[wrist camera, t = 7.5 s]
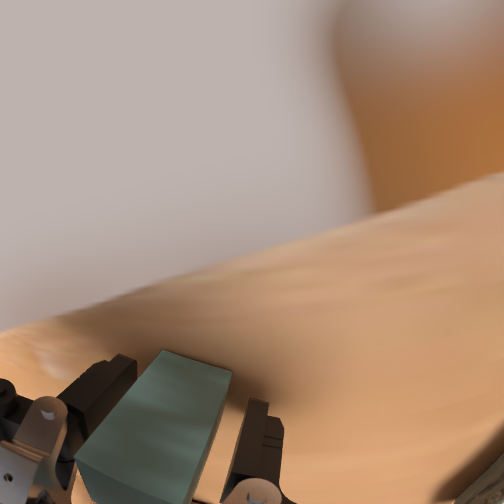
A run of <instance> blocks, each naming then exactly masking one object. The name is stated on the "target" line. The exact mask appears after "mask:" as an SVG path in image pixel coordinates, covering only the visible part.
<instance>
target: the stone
mask: <svg viewBox="0 0 504 504" xmlns="http://www.w3.org/2000/svg"><path fill="white" fill-rule="evenodd" d="M503 502H504V452H503V453H502V455H501V456H500V457H499V458H498V459H497V460H496V461H495V462H494V463H493V464H492V465H491V466H490V467H489V468H488V469H487V470H486V471H485V472H484V473H483V474H482V475H481V476H480V477H479V478H478V479H476V480H475V481H474V482H473V483H472V484H471V485H470V486H469V487H468V488H467V489H466V490H465V491H464V492H462V493H461V494H460V495H459V496H458V497H457V498H456V500H455V502H454V504H502V503H503Z"/></svg>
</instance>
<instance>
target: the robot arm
mask: <svg viewBox="0 0 504 504" xmlns="http://www.w3.org/2000/svg"><path fill="white" fill-rule="evenodd" d="M136 381H137V361H136V360H134V359H132V358H129V357H127V356H124V355H122V354H117V355H116V356H115V357H114V358H113V359H112V360H111V361H110V362H108V361H106V360H103V361H100V362H98V363H95V364H93V365H92V366H91V367H90V368H88V369H87V370H86V372H84V373H83V374H82V375H81V376H80V377H79V378H77V379H76V380H75V381H74V382H73V383H72V384H71V385H69V386H68V387H67V388H66V389H65V390H64V391H63V392H62V393H60V394H59V395H58V396H57V397H56V398H55V397H51V396H44V397H40V398H38V399H36V400H35V401H34V400H31V399H28V398H25V397H23V396H20V395H17V393H16V390H15V387H14V385H13V384H12V383H11V382H10V381H8V380H6V379H1V378H0V504H72V503H71V493H72V489H73V485H74V481H75V477H76V473H77V469H78V467H77V465H76V462H75V459H74V457H73V456H74V455H75V454H76V453H77V452H78V450H79V449H80V448H81V447H82V446H83V444H84V443H85V442H86V441H87V439H88V438H89V437H90V436H91V435H92V433H93V432H94V431H95V430H96V429H97V427H98V426H99V425H100V424H101V423H102V421H103V420H104V419H105V418H106V417H107V415H108V414H109V413H110V412H111V411H112V409H113V408H114V407H115V406H116V405H117V403H118V402H119V401H120V400H121V399H122V397H123V396H124V395H125V394H126V393H127V391H128V390H129V389H130V388H131V387H132V385H133V384H134V383H135V382H136ZM268 407H269V402H266V401H262V400H257V399H253V398H250V399H249V402H248V405H247V408H246V412H245V415H244V418H243V421H242V424H241V428H240V431H239V435H238V438H237V442H236V446H235V449H234V453H233V457H232V460H231V464H230V467H229V471H228V475H227V478H226V482H225V485H224V489H223V492H222V496H221V499H220V502H219V503H222V504H296V503H294V502H292V501H291V500H289V499H288V498H287V497H285V495H284V494H283V493H282V491H281V489H280V486H279V478H280V469H281V459H282V448H283V438H284V427H283V425H282V422H281V420H280V418H277V417H272V416H268V415H267V413H268Z"/></svg>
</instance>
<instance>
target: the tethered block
mask: <svg viewBox="0 0 504 504" xmlns="http://www.w3.org/2000/svg"><path fill="white" fill-rule="evenodd" d="M232 373H233V372H232V371H229V370H225V369H221V368H218V367H215V366H211V365H208V364H205V363H201V362H198V361H195V360H192V359H189V358H186V357H183V356H180V355H177V354H174V353H171V352H168V351H165V350H162V351H161V352H160V353H159V354H158V356H157V357H156V358H155V359H154V360H153V362H152V363H151V364H150V365H149V366H148V367H147V369H146V370H145V371H144V372H143V373H142V375H141V376H140V377H139V378H138V379H137V381H136V382H135V383H134V384H133V385H132V387H131V388H130V389H129V390H128V391H127V393H126V394H125V395H124V396H123V397H122V399H121V400H120V401H119V402H118V403H117V405H116V406H115V407H114V408H113V409H112V411H111V412H110V413H109V414H108V415H107V417H106V418H105V419H104V420H103V421H102V423H101V424H100V425H99V426H98V427H97V429H96V430H95V431H94V432H93V433H92V435H91V436H90V437H89V438H88V439H87V441H86V442H85V443H84V444H83V446H82V447H81V448H80V449H79V450H78V452H77V453H76V454H75V455H74V456H73V457H74V459H75V462H76V465H77V467H78V470H79V472H80V474H81V477H82V479H83V482H84V484H85V486H86V488H87V490H88V493H89V495H90V497H91V499H92V500H93V501H94V502H96V503H98V504H199V503H195V502H192V498H193V496H194V493H195V490H196V488H197V485H198V482H199V480H200V477H201V474H202V471H203V469H204V466H205V463H206V460H207V458H208V455H209V452H210V449H211V447H212V444H213V441H214V438H215V435H216V433H217V430H218V427H219V424H220V421H221V418H222V414H223V410H224V405H225V401H226V397H227V393H228V389H229V385H230V381H231V377H232Z"/></svg>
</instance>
